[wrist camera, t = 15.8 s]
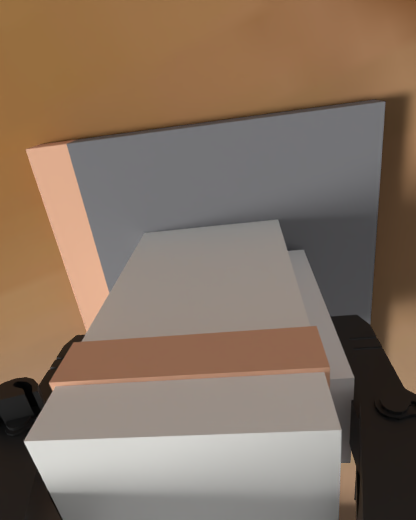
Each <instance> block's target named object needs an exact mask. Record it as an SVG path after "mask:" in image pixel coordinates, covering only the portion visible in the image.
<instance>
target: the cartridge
mask: <svg viewBox="0 0 416 520" xmlns="http://www.w3.org/2000/svg"><path fill="white" fill-rule="evenodd" d="M49 384H50V386H51V389H52V393H51V395H50V397H49V398H48V400H47V402H46V404H45V405H44V407H43V409H42V410H41V412H40V414H39V416H38V417H37V419H36V421H35V423H34V424H33V426H32V428H31V429H30V431H29V433H28V435H27V436H26V438H25V440H24V443H25V445H26V447H27V449H28V451H29V453H30V455H31V457H32V459H33V461H34V463H35V465H36V467H37V469H38V471H39V473H40V475H41V477H42V479H43V481H44V483H45V485H46V487H47V489H48V491H49V493H50V495H51V497H52V499H53V501H54V503H55V505H56V507H57V509H58V511H59V513H60V515H61V517H62V519H63V520H339V496H340V466H341V435H342V429H341V426H340V423H339V420H338V416H337V413H336V410H335V406H334V403H333V400H332V396H331V393H330V366H329V362H328V359H327V356H326V353H325V350H324V347H323V344H322V341H321V338H320V335H319V332H318V329H317V326H310V323H309V320H308V317H307V313H306V310H305V307H304V304H303V300H302V297H301V294H300V290H299V287H298V284H297V280H296V277H295V274H294V270H293V267H292V264H291V260H290V257H289V254H288V251H287V247H286V244H285V241H284V237H283V234H282V231H281V227H280V224H279V221H278V219H277V220H267V221H257V222H247V223H237V224H227V225H218V226H208V227H198V228H188V229H178V230H168V231H158V232H149V233H144V234H143V236H142V238H141V240H140V241H139V243H138V245H137V247H136V248H135V250H134V252H133V253H132V255H131V257H130V259H129V260H128V262H127V264H126V265H125V267H124V269H123V271H122V272H121V274H120V276H119V278H118V279H117V281H116V283H115V284H114V286H113V288H112V290H111V291H110V293H109V295H108V297H107V298H106V300H105V302H104V303H103V305H102V307H101V309H100V310H99V312H98V314H97V316H96V317H95V319H94V321H93V322H92V324H91V326H90V328H89V329H88V331H87V333H86V335H85V336H84V338H83V340H82V341H81V342H73V344H72V346H71V347H70V349H69V350H68V352H67V354H66V355H65V357H64V359H63V360H62V362H61V364H60V365H59V367H58V369H57V370H56V372H55V373H54V375H53V377H52V378H51V380H50V382H49Z"/></svg>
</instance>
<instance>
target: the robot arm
mask: <svg viewBox="0 0 416 520" xmlns="http://www.w3.org/2000/svg"><path fill="white" fill-rule="evenodd" d="M288 254H289V257H290V260H291V264H292V267H293V270H294V274H295V277H296V280H297V284H298V287H299V290H300V294H301V297H302V300H303V304H304V307H305V310H306V313H307V317H308V320H309V323H310V326H317V329H318V332H319V335H320V338H321V341H322V344H323V347H324V350H325V353H326V356H327V359H328V362H329V366H330V393H331V396H332V400H333V403H334V406H335V410H336V413H337V416H338V420H339V423H340V426H341V429H342V435H341V463H350V460H351V451H352V454H353V457H354V460H355V464H356V482H355V498H354V500H356V520H416V394H414V393H412V392H410V391H408V390H406V389H405V388H404V386H403V385H402V383H401V381H400V379H399V377H398V375H397V374H396V372H395V370H394V368H393V366H392V364H391V363H390V361H389V359H388V357H387V355H386V353H385V352H384V350H383V349H382V346H381V344H380V342H379V340H378V339H377V338H376V335H375V333H374V331H373V329H372V328H371V326H370V324H369V323H367V322H366V321H365V320H363V319H362V318H361V317H360V316H358V315H344V316H330V315H329V312H328V310H327V307H326V305H325V302H324V300H323V297H322V295H321V292H320V290H319V287H318V285H317V282H316V279H315V277H314V274H313V272H312V269H311V267H310V264H309V262H308V259H307V257H306V254H305V252H304V250H293V251H288ZM84 336H85V335H76V336H75V337H74V338H73V339H72V340H70V341H69V342H68V343H67V344H66V345H65V346H64V347H63V348H62V350H61V351H60V353H59V355H58V356H57V360H55V361H54V362H53V364H52V366H51V367H50V370H48V372H47V373H46V375H45V377H44V378H43V380H42V381H41V383H40V384H39V386H38V384H37V383H36V381H35V380H34V379H31V378H27V377H24V378H16V379H13V380H10V381H7V382H4V383H3V384H1V385H0V520H63V519H62V517H61V515H60V513H59V511H58V509H57V507H56V505H55V503H54V501H53V499H52V497H51V495H50V493H49V491H48V489H47V487H46V485H45V483H44V481H43V479H42V477H41V475H40V473H39V471H38V469H37V467H36V465H35V463H34V461H33V459H32V457H31V455H30V453H29V451H28V449H27V447H26V445H25V443H24V440H25V438H26V436H27V435H28V433H29V431H30V429H31V428H32V426H33V424H34V423H35V421H36V419H37V417H38V416H39V414H40V412H41V410H42V409H43V407H44V405H45V404H46V402H47V400H48V398H49V397H50V395H51V393H52V389H51V386H50V384H49V382H50V380H51V378H52V377H53V375H54V373H55V372H56V370H57V369H58V367H59V365H60V364H61V362H62V360H63V359H64V357H65V355H66V354H67V352H68V350H69V349H70V347H71V346H72V344H73V342H81V341H82V340H83V338H84Z"/></svg>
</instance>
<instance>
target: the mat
mask: <svg viewBox="0 0 416 520" xmlns="http://www.w3.org/2000/svg"><path fill="white" fill-rule="evenodd" d="M384 115H385V101H380V100H368V101H360V102H353V103H346V104H338V105H331V106H323V107H316V108H308V109H301V110H293V111H286V112H279V113H271V114H264V115H256V116H249V117H241V118H234V119H226V120H219V121H212V122H204V123H197V124H189V125H182V126H174V127H167V128H160V129H152V130H145V131H137V132H130V133H122V134H115V135H107V136H100V137H93V138H85V139H78V140H70V141H63V142H55V143H48V144H40V145H37V146H34V147H31V148H28V149H26V152H27V155H28V158H29V161H30V164H31V167H32V170H33V173H34V176H35V179H36V182H37V185H38V188H39V191H40V194H41V197H42V200H43V203H44V206H45V209H46V212H47V215H48V218H49V221H50V224H51V227H52V230H53V233H54V236H55V238H56V241H57V244H58V247H59V250H60V253H61V256H62V259H63V262H64V265H65V268H66V271H67V274H68V277H69V280H70V283H71V286H72V289H73V292H74V295H75V298H76V301H77V304H78V307H79V310H80V313H81V316H82V319H83V322H84V325H85V328H86V331H88V329H89V328H90V326H91V324H92V322H93V321H94V319H95V317H96V316H97V314H98V312H99V310H100V309H101V307H102V305H103V303H104V302H105V300H106V298H107V297H108V295H109V293H110V291H111V290H112V288H113V286H114V284H115V283H116V281H117V279H118V278H119V276H120V274H121V272H122V271H123V269H124V267H125V265H126V264H127V262H128V260H129V259H130V257H131V255H132V253H133V252H134V250H135V248H136V247H137V245H138V243H139V241H140V240H141V238H142V236H143V234H144V233H149V232H158V231H168V230H178V229H188V228H198V227H208V226H218V225H227V224H237V223H247V222H257V221H267V220H277V219H278V221H279V224H280V227H281V231H282V234H283V237H284V241H285V244H286V247H287V251H293V250H304V252H305V254H306V257H307V259H308V262H309V264H310V267H311V269H312V272H313V274H314V277H315V279H316V282H317V285H318V287H319V290H320V292H321V295H322V297H323V300H324V302H325V305H326V307H327V310H328V312H329V315H330V316H344V315H358V316H360V317H361V318H362V319H363V320H365V321H366V322H367V323H369V324H370V321H371V307H372V292H373V277H374V263H375V248H376V233H377V218H378V204H379V189H380V174H381V159H382V145H383V130H384Z"/></svg>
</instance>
